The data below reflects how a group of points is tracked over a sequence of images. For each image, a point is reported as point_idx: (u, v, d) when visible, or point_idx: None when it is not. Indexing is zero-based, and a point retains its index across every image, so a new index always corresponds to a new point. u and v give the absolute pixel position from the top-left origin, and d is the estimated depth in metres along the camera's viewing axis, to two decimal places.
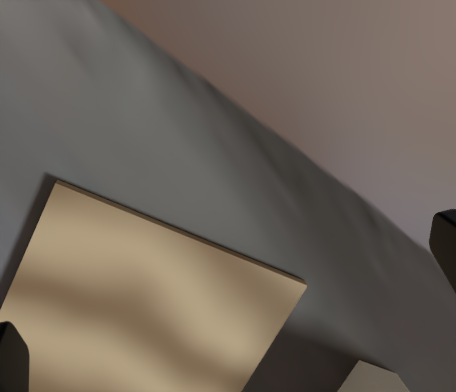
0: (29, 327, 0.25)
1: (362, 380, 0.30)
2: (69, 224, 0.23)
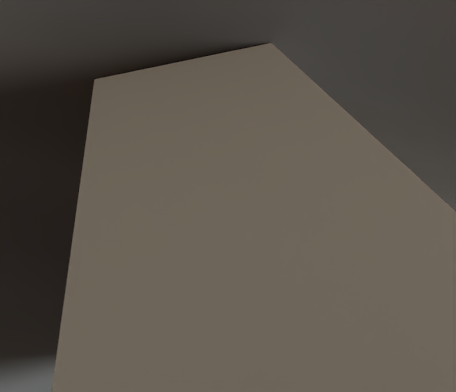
0: None
1: None
2: None
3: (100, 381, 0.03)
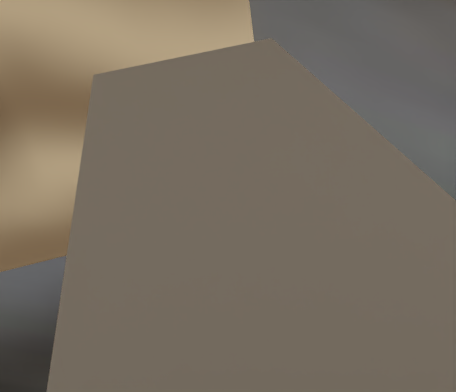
0: None
1: None
2: None
3: (97, 374, 0.03)
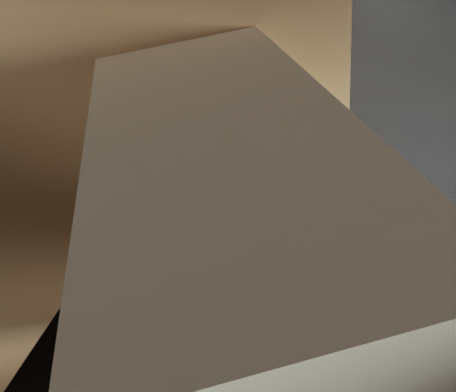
0: None
1: None
2: None
3: (104, 264, 0.04)
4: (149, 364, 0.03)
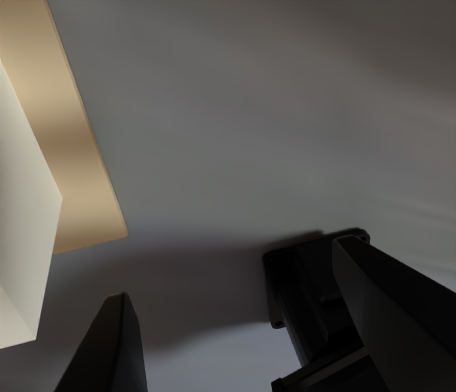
0: None
1: None
2: None
3: None
4: None
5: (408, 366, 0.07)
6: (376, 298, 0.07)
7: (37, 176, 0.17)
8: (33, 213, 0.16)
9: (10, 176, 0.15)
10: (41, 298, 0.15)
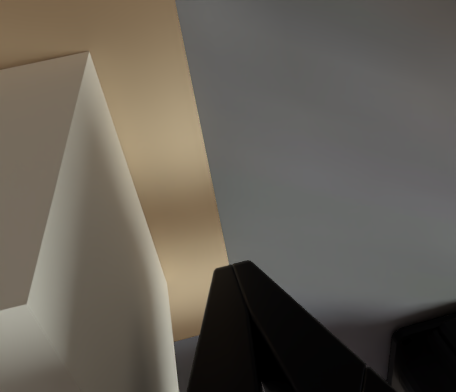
0: None
1: None
2: None
3: None
4: None
5: None
6: (255, 330, 0.07)
7: (153, 271, 0.12)
8: (161, 339, 0.11)
9: (142, 299, 0.09)
10: None
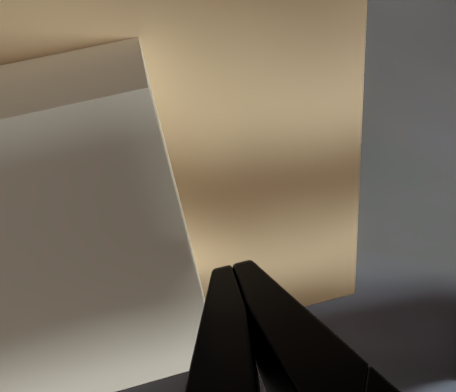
0: None
1: None
2: None
3: None
4: None
5: None
6: (256, 330, 0.07)
7: (135, 326, 0.11)
8: (58, 359, 0.11)
9: (12, 313, 0.10)
10: None
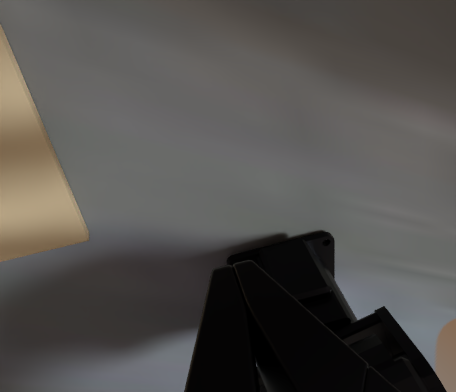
0: None
1: None
2: None
3: None
4: None
5: None
6: (256, 330, 0.07)
7: None
8: None
9: None
10: None
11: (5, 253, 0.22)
